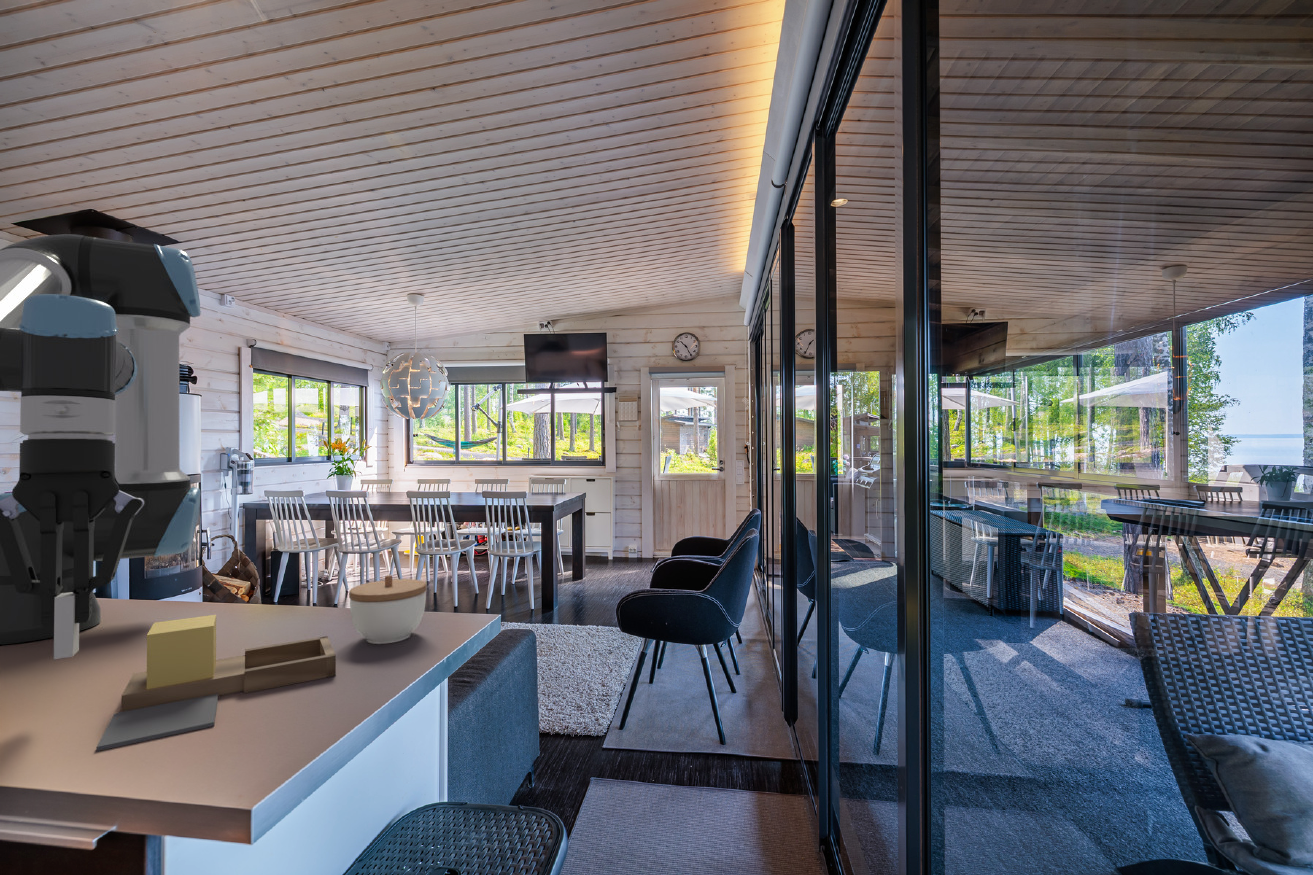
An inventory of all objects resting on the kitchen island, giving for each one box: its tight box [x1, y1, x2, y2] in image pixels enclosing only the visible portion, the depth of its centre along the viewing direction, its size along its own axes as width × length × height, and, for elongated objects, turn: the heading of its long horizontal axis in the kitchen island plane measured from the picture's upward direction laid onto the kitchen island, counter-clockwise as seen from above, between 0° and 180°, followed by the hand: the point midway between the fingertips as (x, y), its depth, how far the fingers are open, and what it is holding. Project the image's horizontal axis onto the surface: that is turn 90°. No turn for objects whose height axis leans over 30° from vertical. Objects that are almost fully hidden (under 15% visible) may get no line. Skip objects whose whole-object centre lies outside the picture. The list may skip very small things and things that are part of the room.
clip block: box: [146, 614, 217, 689], centre depth 71 cm, size 6×6×6 cm
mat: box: [95, 694, 219, 752], centre depth 63 cm, size 9×9×1 cm
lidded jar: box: [348, 574, 427, 645], centre depth 91 cm, size 11×11×9 cm
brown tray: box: [120, 635, 337, 712], centre depth 74 cm, size 10×20×2 cm, turn 124°
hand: (66, 654), depth 66 cm, fingers closed
